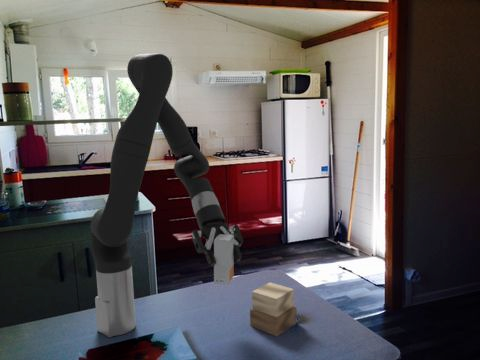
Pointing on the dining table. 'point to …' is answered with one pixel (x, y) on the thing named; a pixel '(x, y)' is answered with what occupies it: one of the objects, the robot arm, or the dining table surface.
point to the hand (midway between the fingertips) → (226, 262)
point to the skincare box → (224, 258)
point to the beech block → (273, 299)
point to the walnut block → (273, 321)
